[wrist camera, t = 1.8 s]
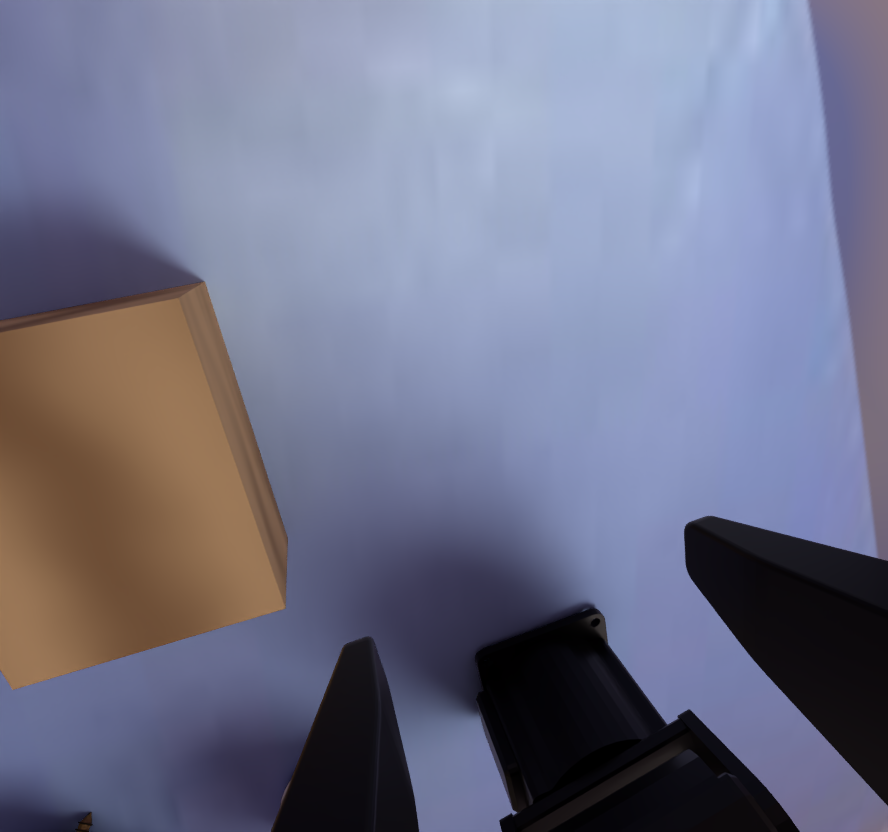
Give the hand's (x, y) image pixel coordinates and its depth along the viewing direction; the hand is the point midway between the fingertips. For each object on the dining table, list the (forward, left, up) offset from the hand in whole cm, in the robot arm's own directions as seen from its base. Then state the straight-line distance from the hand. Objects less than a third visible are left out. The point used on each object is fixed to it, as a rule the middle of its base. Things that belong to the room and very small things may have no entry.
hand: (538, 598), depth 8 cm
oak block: (+10, 0, -13) cm, 16 cm away
